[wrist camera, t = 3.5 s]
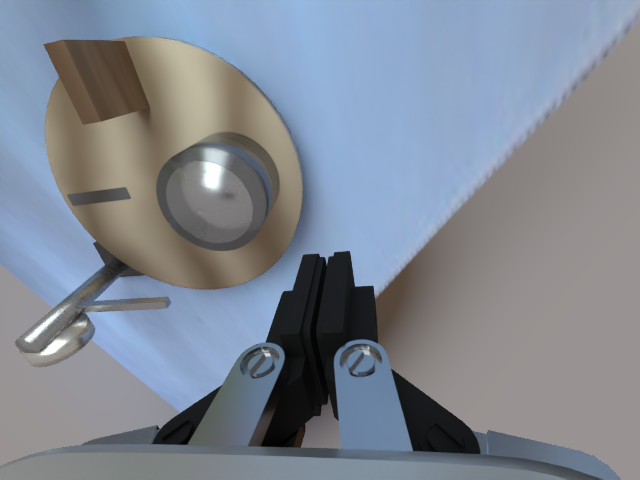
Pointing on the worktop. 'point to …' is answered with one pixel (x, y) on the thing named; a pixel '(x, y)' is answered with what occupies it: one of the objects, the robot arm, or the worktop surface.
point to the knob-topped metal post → (80, 315)
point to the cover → (218, 191)
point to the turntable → (159, 151)
